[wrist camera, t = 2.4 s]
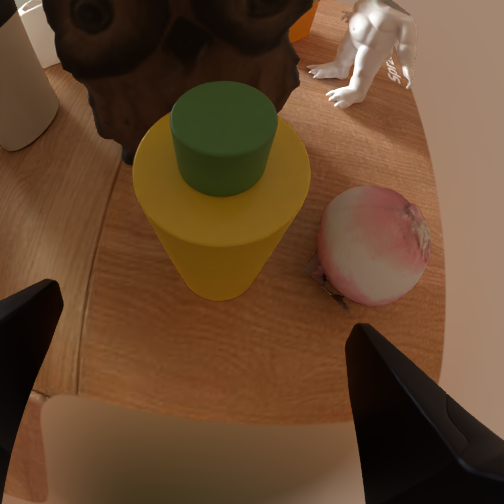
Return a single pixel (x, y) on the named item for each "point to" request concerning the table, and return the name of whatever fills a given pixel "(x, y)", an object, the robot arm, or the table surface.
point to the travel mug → (21, 84)
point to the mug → (39, 32)
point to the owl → (170, 54)
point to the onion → (370, 246)
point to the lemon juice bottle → (221, 185)
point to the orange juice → (303, 24)
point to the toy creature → (370, 48)
